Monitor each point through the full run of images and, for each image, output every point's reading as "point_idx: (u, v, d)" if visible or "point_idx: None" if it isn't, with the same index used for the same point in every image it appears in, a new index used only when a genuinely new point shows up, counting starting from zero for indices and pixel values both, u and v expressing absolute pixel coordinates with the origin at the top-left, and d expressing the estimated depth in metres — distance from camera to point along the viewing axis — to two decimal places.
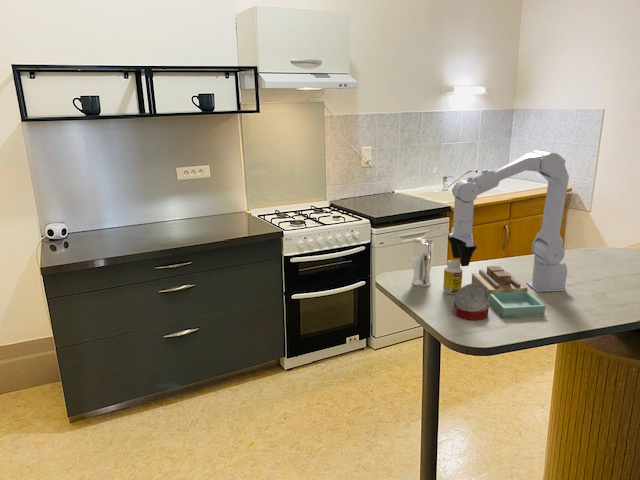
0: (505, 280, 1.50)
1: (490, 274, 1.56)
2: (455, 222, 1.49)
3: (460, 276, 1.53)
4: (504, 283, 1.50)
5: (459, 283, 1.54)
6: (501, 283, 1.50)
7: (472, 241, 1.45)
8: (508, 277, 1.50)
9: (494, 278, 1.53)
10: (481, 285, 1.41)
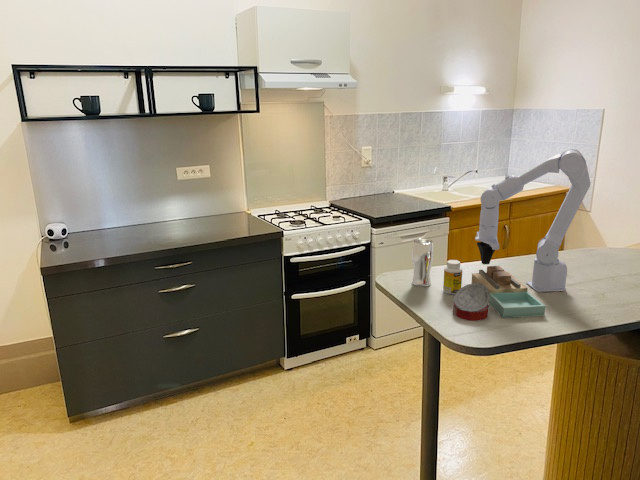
0: (505, 280, 1.50)
1: (490, 274, 1.56)
2: (481, 227, 1.60)
3: (460, 276, 1.53)
4: (504, 283, 1.50)
5: (459, 283, 1.54)
6: (501, 283, 1.50)
7: (498, 245, 1.55)
8: (508, 277, 1.50)
9: (494, 278, 1.53)
10: (481, 285, 1.41)
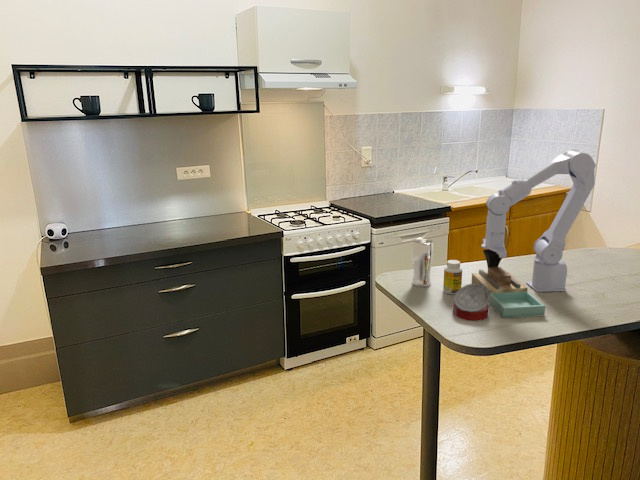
0: (505, 280, 1.50)
1: (491, 275, 1.55)
2: (488, 234, 1.55)
3: (460, 276, 1.53)
4: (504, 283, 1.50)
5: (459, 283, 1.54)
6: (501, 283, 1.50)
7: (505, 252, 1.50)
8: (508, 277, 1.50)
9: (494, 278, 1.53)
10: (481, 285, 1.41)
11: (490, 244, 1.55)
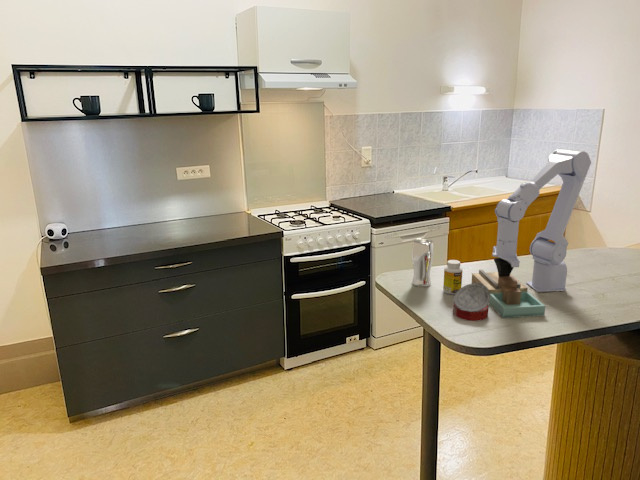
0: None
1: (502, 285, 1.47)
2: (499, 242, 1.46)
3: (460, 276, 1.53)
4: None
5: (459, 283, 1.54)
6: None
7: (518, 262, 1.42)
8: None
9: (505, 294, 1.45)
10: (481, 285, 1.41)
11: (501, 253, 1.46)
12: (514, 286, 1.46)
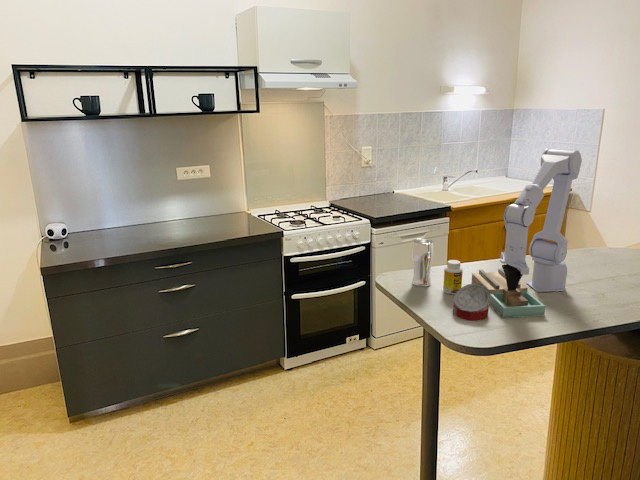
0: None
1: (505, 293, 1.45)
2: (508, 248, 1.40)
3: (460, 276, 1.53)
4: None
5: (459, 283, 1.54)
6: None
7: (528, 269, 1.36)
8: None
9: (512, 303, 1.41)
10: (481, 285, 1.41)
11: (510, 259, 1.41)
12: (516, 290, 1.45)
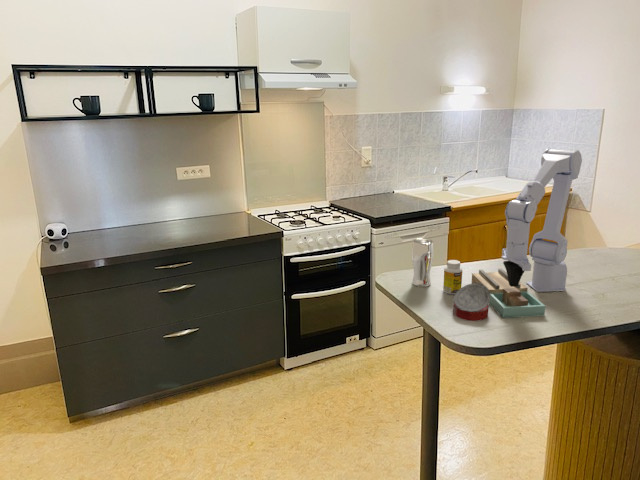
0: None
1: (505, 293, 1.45)
2: (509, 244, 1.39)
3: (460, 276, 1.53)
4: None
5: (459, 283, 1.54)
6: None
7: (529, 265, 1.35)
8: None
9: (512, 303, 1.41)
10: (481, 285, 1.41)
11: (512, 255, 1.40)
12: (516, 290, 1.45)
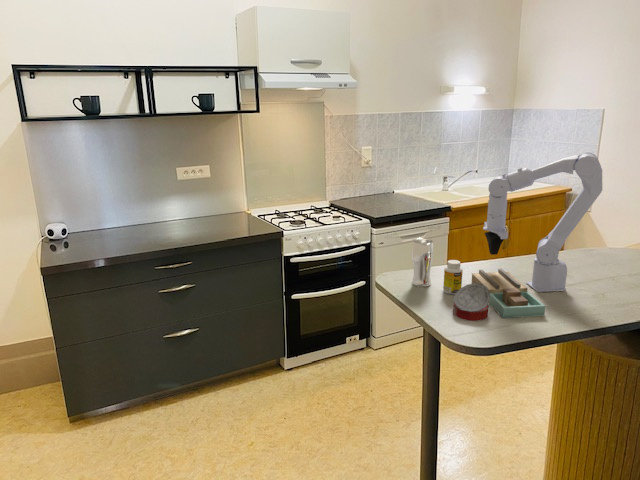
0: None
1: (505, 293, 1.45)
2: (489, 216, 1.58)
3: (460, 276, 1.53)
4: None
5: (459, 283, 1.54)
6: None
7: (506, 234, 1.53)
8: None
9: (512, 303, 1.41)
10: (481, 285, 1.41)
11: (491, 226, 1.58)
12: (516, 290, 1.45)
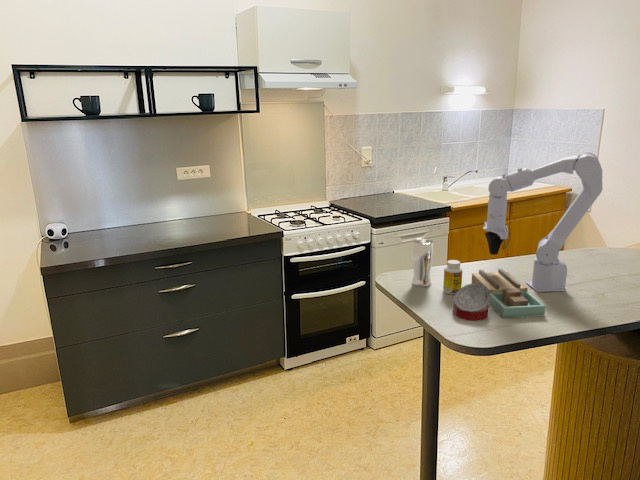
0: None
1: (505, 293, 1.45)
2: (489, 216, 1.58)
3: (460, 276, 1.53)
4: None
5: (459, 283, 1.54)
6: None
7: (506, 234, 1.53)
8: None
9: (512, 303, 1.41)
10: (481, 285, 1.41)
11: (491, 226, 1.58)
12: (516, 290, 1.45)
